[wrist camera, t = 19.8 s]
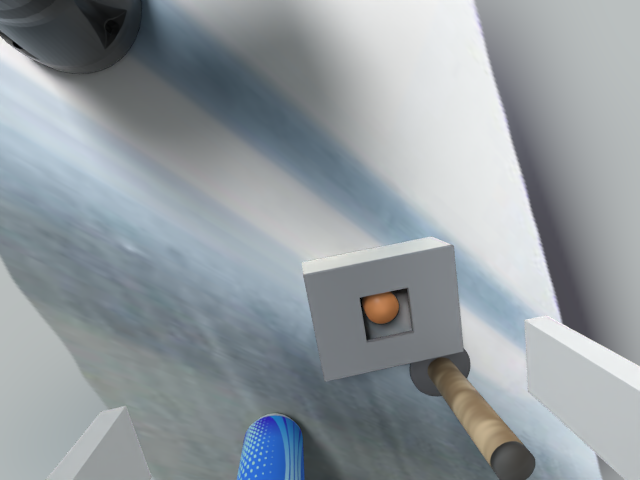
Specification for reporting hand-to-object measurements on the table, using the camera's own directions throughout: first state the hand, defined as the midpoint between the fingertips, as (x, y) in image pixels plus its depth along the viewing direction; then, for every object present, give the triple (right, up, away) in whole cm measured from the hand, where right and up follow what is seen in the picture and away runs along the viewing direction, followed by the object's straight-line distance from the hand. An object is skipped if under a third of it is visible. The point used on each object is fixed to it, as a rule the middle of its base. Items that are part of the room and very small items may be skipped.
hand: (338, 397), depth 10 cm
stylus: (+17, -14, +36) cm, 42 cm away
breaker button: (+7, -3, +32) cm, 33 cm away
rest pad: (+17, -14, +37) cm, 43 cm away
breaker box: (+7, -3, +34) cm, 34 cm away
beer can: (-7, -24, +37) cm, 44 cm away
